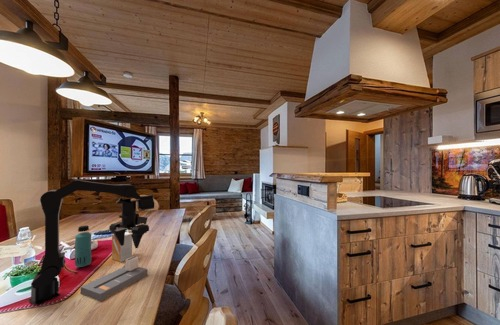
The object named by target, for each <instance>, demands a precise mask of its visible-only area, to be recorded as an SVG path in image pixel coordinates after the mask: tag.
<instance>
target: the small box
mask: <svg viewBox="0 0 500 325" xmlns="http://www.w3.org/2000/svg"><path fill="white" fill-rule="evenodd" d="M131 235H132V232H127V231H126V232H125V238H124V245H123V246H121V245H120V243H119V242H118V240H117V238H116V237H115V236H114V234H113V233H112V235H111V236H112V237H111V259H112V260H115V261H116V262H119V263H122V262H126V259H128V258H130V257H133V239H132V236H131Z"/></svg>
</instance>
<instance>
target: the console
mask: <svg viewBox="0 0 500 325" xmlns="http://www.w3.org/2000/svg"><path fill="white" fill-rule="evenodd" d="M147 275H148V268H144V267H141V266H138V267H137V268H135V269H134V270H132V271H128V270H126V265H125V266H123V267H121V268H118V269H115V270H114V271H112V272H110V273H107V274H105V275H103V276H100V277H99V278H96V279H95V280H92V281H90V282H88V283H86V284H84V285H82V286H80V294H81V295H83V296H86V297H89V298H91V299H94V300H96V301H98V302H101V301H103V300H104V299H107V298H108V297H110V296H112V295H115V293H118V292H119V291H120V290H121V291H122V289H124V288H126V287H128V286H130V285H131V284H133V283H135V282H137V281H139V280H141V279H142V278H144V277H146V276H147Z"/></svg>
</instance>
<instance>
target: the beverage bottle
mask: <svg viewBox="0 0 500 325" xmlns="http://www.w3.org/2000/svg"><path fill="white" fill-rule="evenodd" d="M89 227H90V226H89V225H81V226H79V227H78V228H77V232H79V233H77V234H76V235H75V237H74V238H75V240H74V241H75V242H74V249H75V250H74V266H75V268H81V267H86V266H89V265H90V264H92V233H91V232H89V230H90V228H89Z"/></svg>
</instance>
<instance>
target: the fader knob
mask: <svg viewBox="0 0 500 325" xmlns="http://www.w3.org/2000/svg"><path fill="white" fill-rule="evenodd" d="M125 266H126V270H128V271H132V270H134V269H135V268H137V267H139V256H136V255H132V257H130V258H128V259H126V260H125Z"/></svg>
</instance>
